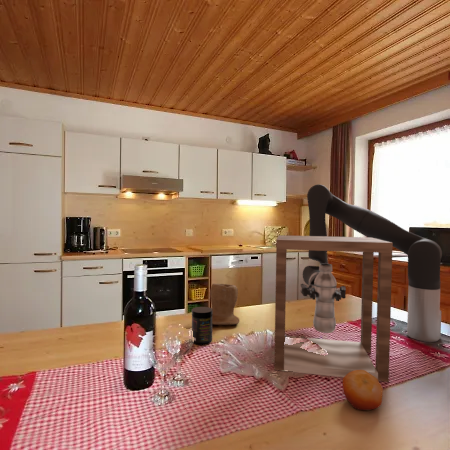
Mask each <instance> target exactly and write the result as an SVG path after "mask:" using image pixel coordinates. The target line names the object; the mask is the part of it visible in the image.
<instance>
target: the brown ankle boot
mask: <svg viewBox="0 0 450 450" xmlns="http://www.w3.org/2000/svg"><path fill="white" fill-rule="evenodd" d="M238 290H239V289H238V287H237V285H234V284H230V283H229V284H228V283H212V284H211V286H210V291H209V296H210V303H211V304H210V305H211V308H212V309H213V319H212V326H213V325H214V326H217V325H218V326H219V325H220V326H224V325H225V326H229V325H238V324H239V323H240V318H239V317H238V316H237V315H235V314H234V312H235V307H236V304H237V301H238V294H239V293H238Z"/></svg>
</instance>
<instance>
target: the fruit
mask: <svg viewBox="0 0 450 450" xmlns="http://www.w3.org/2000/svg"><path fill="white" fill-rule="evenodd" d="M383 390H384V388H383V386H382V385H381V383H380V381H378V379H377V378H376V377H375V376H373V375H371V374H369V373H368V372H367V371H365V370H354V371H351V372H349V373H348V374H346V376H345V377H342V392H343V394H344V397H345V398H346V400H347V402H348V403H349V404H350V405H351V406H352V408H354V409H355V410H359V411H367V410H368V411H370V410H374V409H375V410H376V409H378V408H379V407H381V405H382V402H383Z"/></svg>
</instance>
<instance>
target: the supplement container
mask: <svg viewBox="0 0 450 450" xmlns="http://www.w3.org/2000/svg"><path fill="white" fill-rule="evenodd" d="M212 319H213V309H212V307H210V306H209V307H208V306H196V307H193V308H192V309H191V331H192V330H193V337H194V343H193V344H194V345H196V346H206V345H210V344H211V343H212V342H213V325H212Z"/></svg>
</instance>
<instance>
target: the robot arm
mask: <svg viewBox="0 0 450 450" xmlns="http://www.w3.org/2000/svg"><path fill="white" fill-rule="evenodd" d="M306 197H307V205H308V214H309V215H308V217H309V229H308V230H309V232H308V233H309V234H308V236H327V237H328V233H327V232H328V231H327V225H326V215H328V216H330V217H333V218H335V219H337V220H339V221H340V222H342V223H343V224H344V225H346V226H347V227H349V228H351V229H352V230H354V231H356V232H357V233H359V234H361V235H362V236H363V237H369V238H376V239H380V240H384V241H388V242H392V243H393V245H392V248H395V249H397V250H398V251H401V252H402V253H404V254H405V255H406V256H407V279H408V286H407V287H408V290H407V291H408V292H407V293H408V295H407V296H408V297H407V324H406V325H407V326H406V335H407V336H408V337H410V338H411V339H415V340H417V341H421V342H426V343H427V342H428V343H431V342H433V343H435V342H438V341H439V340H440V339H441V337H442V332H441V331H442V310H441V307H440V306H441V259H442V256H443V251H442V248H441V246H440V245H439V244H438V243H437V242H436V241H434V240H431V239H428V238H425V237H422V236H420V235H418V234H415V233H413V232H410V231H409V230H406V229H404V228H402V227H400V226H399V225H397V224H396V223H395V222H393V221H391V220H389V219H387V218H386V217H384V216H383V215H380V214H378V213H376V212H374V211H373V210H370V209H367V208H365V207H363V206H359V205H354V204H351V203H348V202H345V201H343V200H342V199H341V198H339V197H337V196H335V195H334V194H333V193H332V192H331V191H330V189H329V188H328V187H327V186H326V185H323V184H320V183H319V184H315V185H313V186H311V187H310V188H309V189H308V192H307V194H306ZM307 252H308V258H309V259H310V260H312V261H315V262H317V263H319V265H320V264H329V260H328V251H315V250H308V251H307ZM319 265H307V266H305V267H303V270H302V279H303V281H304V283H305V284H304V283H300V293H301V295H302V296H304V297H307V296H309V298H310V299H312V300H313V301H314V300H315V301H316V294H315V285H314V281H315V278H316V277H317V275H318V274H319V273H320V271H319ZM346 290H347V289H346V286H345V285H341V286H339V287H336V292H335V301H336V302H340V300H341V301H342V299H346V298H347V297H346V296H347V295H346V292H347V291H346Z"/></svg>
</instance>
